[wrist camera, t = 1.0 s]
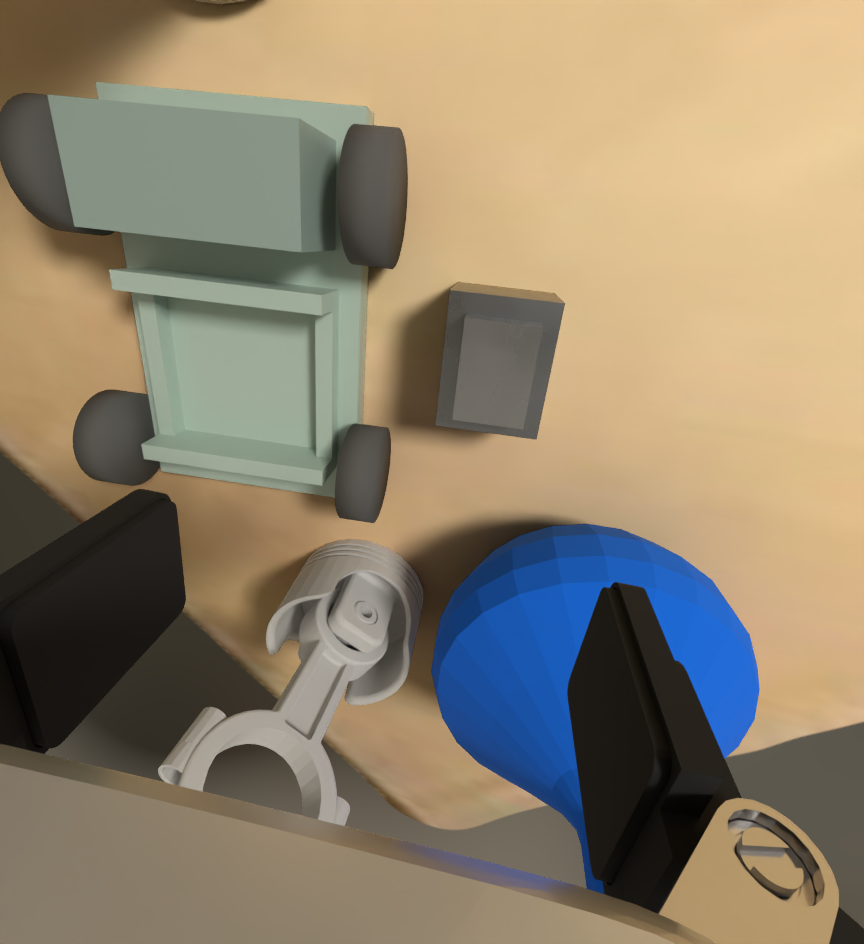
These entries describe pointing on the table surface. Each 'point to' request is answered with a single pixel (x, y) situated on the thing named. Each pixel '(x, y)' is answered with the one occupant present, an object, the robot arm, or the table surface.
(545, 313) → the block
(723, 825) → the robot arm
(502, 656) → the vase
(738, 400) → the table surface
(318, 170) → the chassis
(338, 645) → the engine component
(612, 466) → the table surface
